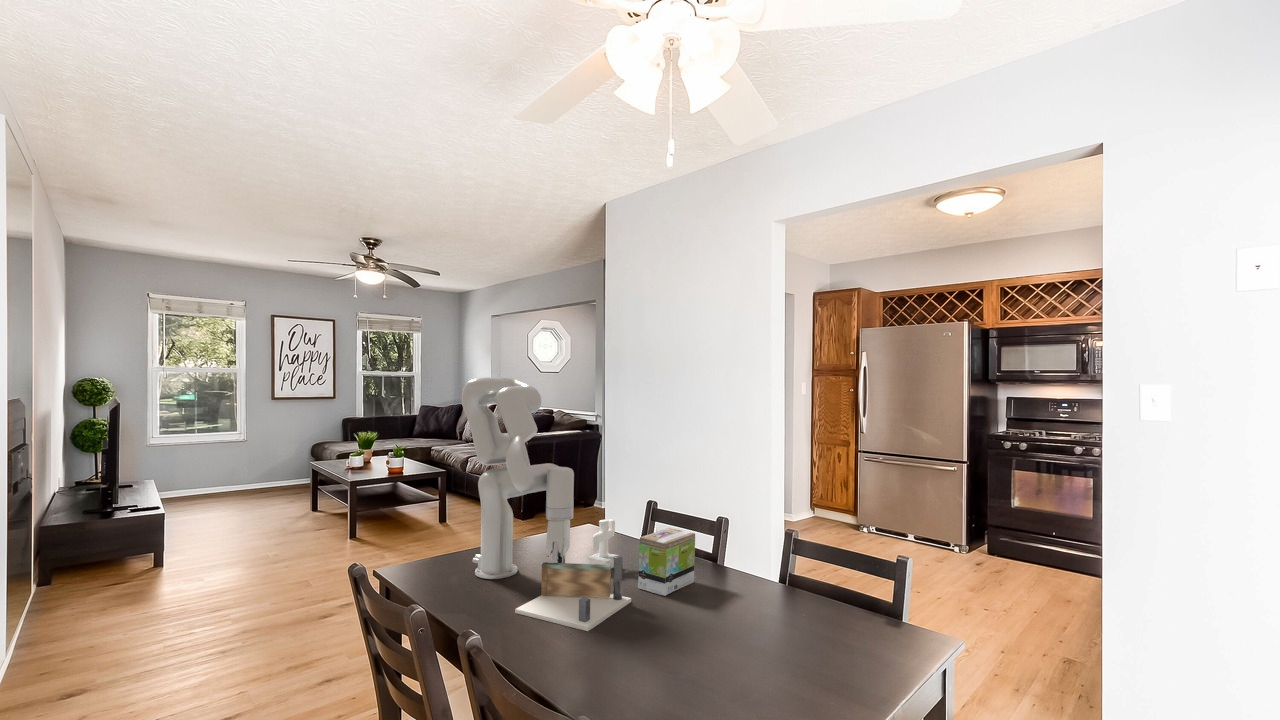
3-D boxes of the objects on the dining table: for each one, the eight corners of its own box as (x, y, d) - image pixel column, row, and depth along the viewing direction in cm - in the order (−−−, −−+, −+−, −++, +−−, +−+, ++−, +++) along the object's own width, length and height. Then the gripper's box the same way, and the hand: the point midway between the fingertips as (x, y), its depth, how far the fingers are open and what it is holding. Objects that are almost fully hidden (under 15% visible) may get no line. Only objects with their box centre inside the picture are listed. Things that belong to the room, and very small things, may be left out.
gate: (610, 594, 160) (611, 564, 160) (609, 597, 158) (610, 567, 158) (543, 592, 161) (543, 562, 161) (541, 594, 159) (541, 564, 159)
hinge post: (577, 624, 144) (578, 574, 144) (615, 599, 160) (616, 555, 160) (586, 626, 143) (586, 576, 143) (623, 601, 159) (624, 556, 159)
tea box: (666, 597, 162) (666, 542, 163) (637, 589, 169) (637, 536, 169) (695, 582, 174) (695, 531, 175) (667, 575, 180) (667, 526, 181)
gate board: (515, 612, 151) (515, 608, 151) (563, 587, 169) (563, 583, 169) (587, 631, 140) (587, 627, 140) (630, 601, 159) (631, 598, 159)
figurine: (584, 569, 185) (585, 521, 185) (603, 562, 192) (604, 515, 193) (603, 574, 180) (603, 524, 181) (621, 566, 188) (622, 518, 189)
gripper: (552, 506, 172) (551, 569, 172) (539, 518, 157) (538, 588, 157) (578, 507, 172) (577, 570, 171) (567, 519, 157) (566, 589, 156)
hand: (558, 579), depth 164 cm, fingers closed
